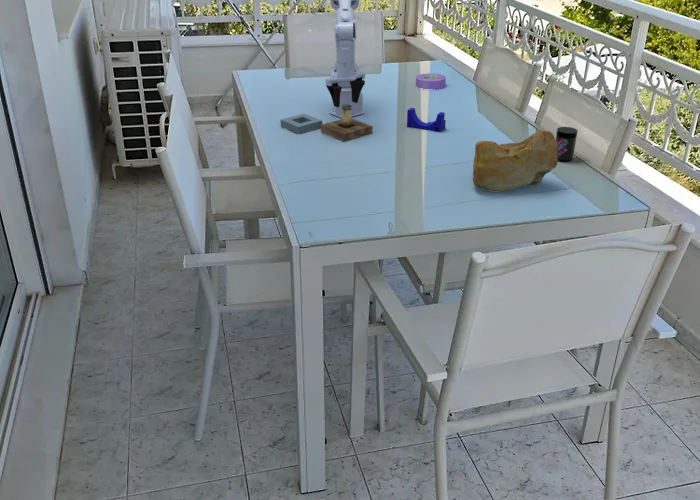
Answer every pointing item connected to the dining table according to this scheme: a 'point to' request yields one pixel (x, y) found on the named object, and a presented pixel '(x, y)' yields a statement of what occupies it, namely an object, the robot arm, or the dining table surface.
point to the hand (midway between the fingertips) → (345, 104)
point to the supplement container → (566, 143)
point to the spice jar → (346, 116)
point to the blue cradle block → (418, 124)
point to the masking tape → (430, 81)
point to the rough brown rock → (514, 162)
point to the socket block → (346, 130)
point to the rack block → (301, 123)
